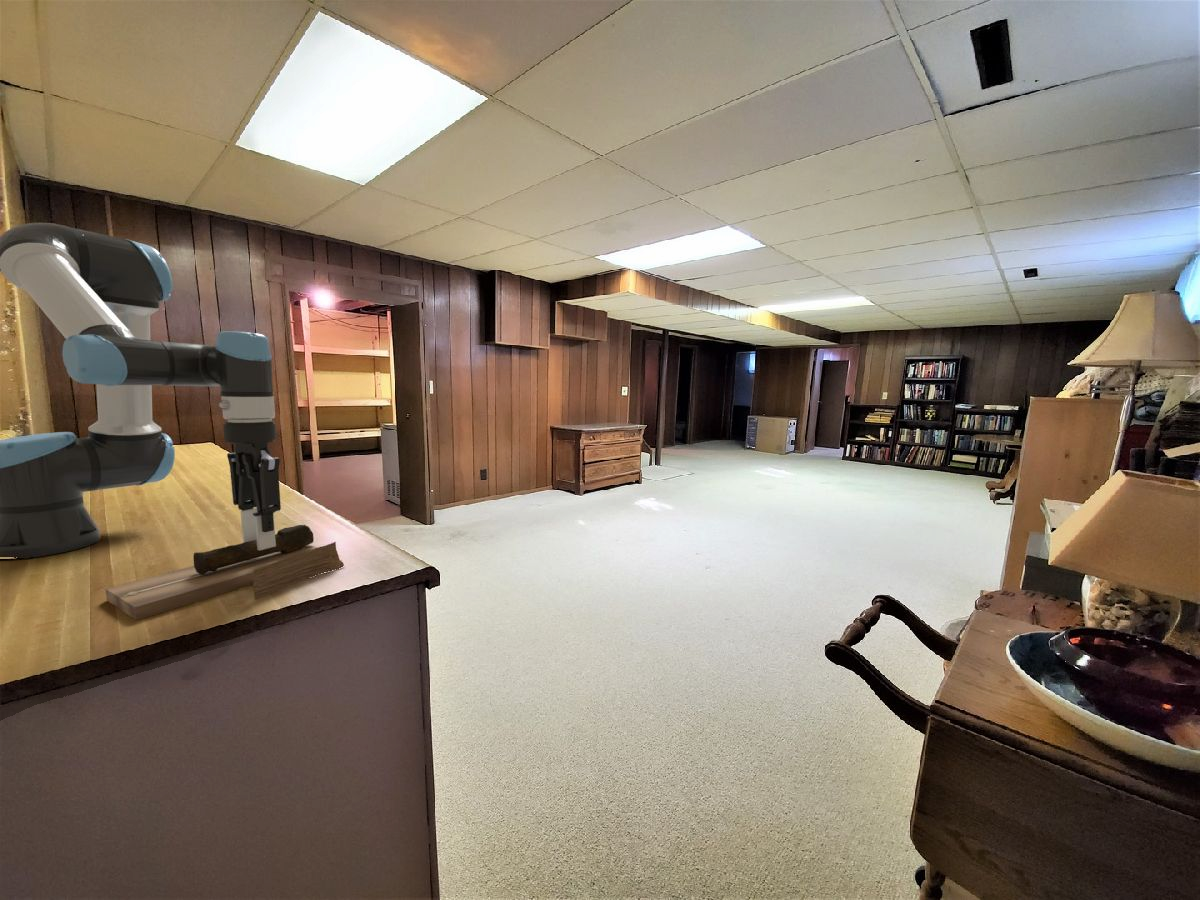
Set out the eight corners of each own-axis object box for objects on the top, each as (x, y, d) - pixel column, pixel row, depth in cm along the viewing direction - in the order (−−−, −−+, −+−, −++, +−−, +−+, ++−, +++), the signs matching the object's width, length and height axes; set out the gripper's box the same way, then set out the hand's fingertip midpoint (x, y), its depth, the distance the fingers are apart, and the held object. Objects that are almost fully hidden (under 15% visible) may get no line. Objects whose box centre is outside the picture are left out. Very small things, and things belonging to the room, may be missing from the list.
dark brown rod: (201, 578, 77) (199, 552, 76) (192, 572, 79) (190, 546, 78) (320, 548, 93) (319, 525, 92) (310, 543, 95) (309, 521, 94)
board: (106, 600, 73) (105, 587, 73) (294, 549, 97) (294, 539, 97) (136, 620, 67) (134, 606, 67) (328, 560, 91) (327, 550, 91)
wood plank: (260, 601, 74) (258, 571, 73) (252, 599, 75) (249, 569, 74) (344, 567, 88) (342, 542, 88) (336, 566, 89) (334, 541, 88)
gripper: (202, 419, 84) (213, 542, 87) (250, 424, 75) (261, 561, 78) (249, 417, 90) (258, 532, 93) (298, 421, 82) (306, 548, 85)
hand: (259, 545), depth 86 cm, fingers open, 4 cm apart
